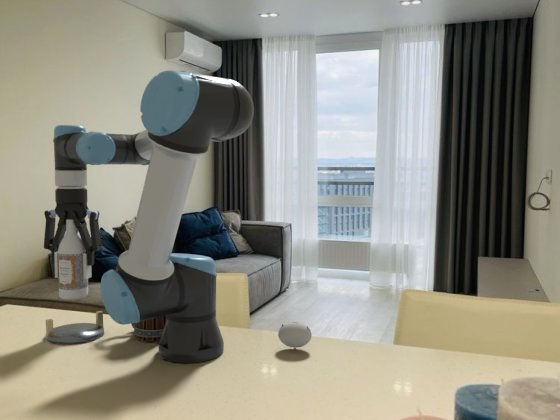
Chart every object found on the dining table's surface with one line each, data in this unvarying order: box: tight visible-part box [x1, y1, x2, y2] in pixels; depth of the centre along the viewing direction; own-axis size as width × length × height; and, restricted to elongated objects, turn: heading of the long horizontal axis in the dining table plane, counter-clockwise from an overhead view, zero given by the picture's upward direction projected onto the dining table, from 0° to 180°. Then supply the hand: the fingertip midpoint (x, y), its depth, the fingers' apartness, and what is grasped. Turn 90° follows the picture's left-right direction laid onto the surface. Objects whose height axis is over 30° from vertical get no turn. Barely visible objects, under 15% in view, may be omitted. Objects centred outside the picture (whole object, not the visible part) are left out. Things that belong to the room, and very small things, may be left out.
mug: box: [130, 315, 166, 343], centre depth 137 cm, size 16×11×15 cm
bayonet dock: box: [45, 310, 105, 346], centre depth 136 cm, size 14×14×5 cm
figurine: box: [277, 321, 312, 351], centre depth 126 cm, size 8×6×7 cm
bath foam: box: [58, 219, 89, 300], centre depth 134 cm, size 7×7×20 cm
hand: (73, 277), depth 135 cm, fingers closed on bath foam, 7 cm apart
